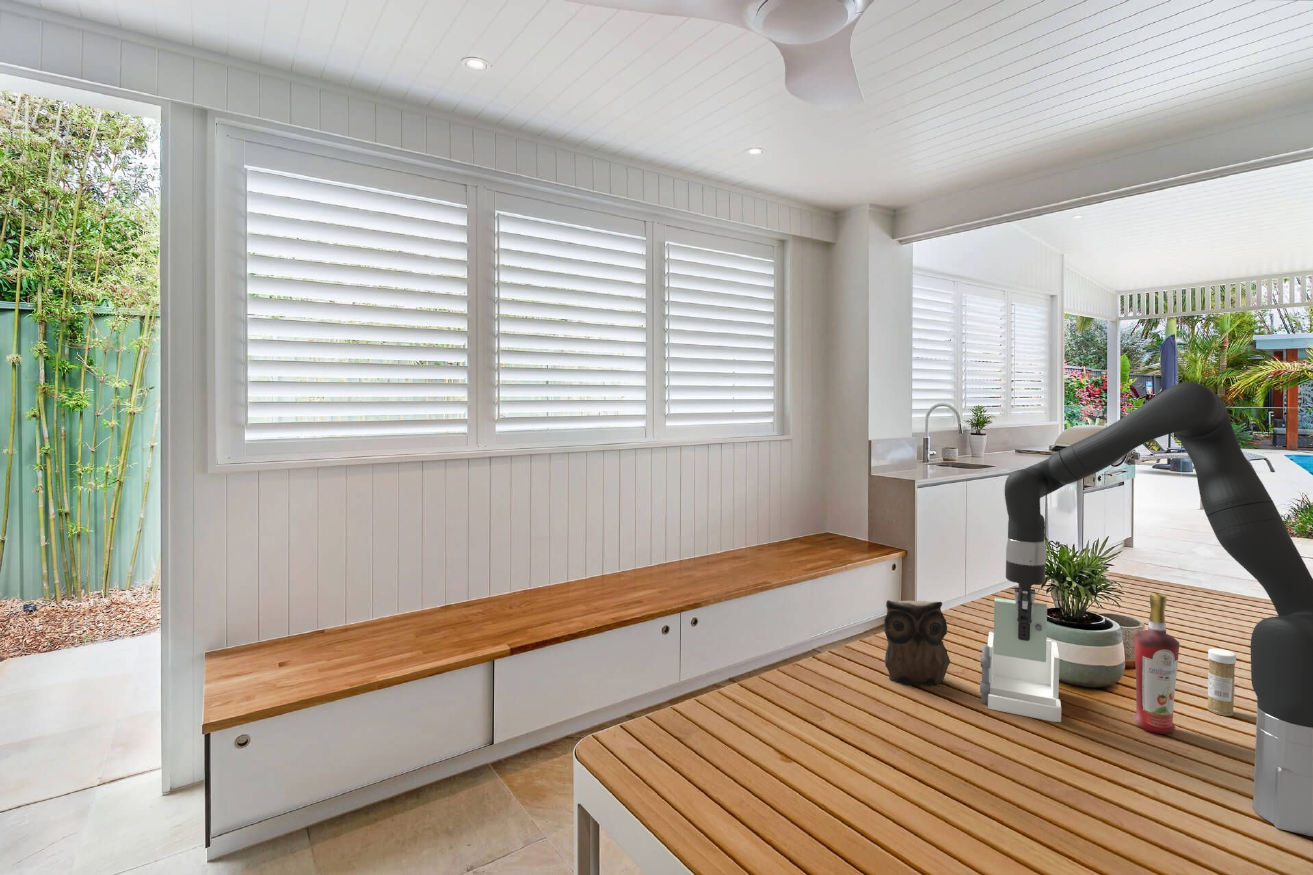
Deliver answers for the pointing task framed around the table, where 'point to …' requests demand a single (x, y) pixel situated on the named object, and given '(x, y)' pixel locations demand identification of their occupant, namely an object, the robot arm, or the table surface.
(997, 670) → the cabinet
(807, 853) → the table surface
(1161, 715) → the liquor
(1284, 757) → the robot arm
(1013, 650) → the door
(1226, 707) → the sprinkles bottle
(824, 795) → the table surface
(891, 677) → the owl
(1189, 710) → the table surface
